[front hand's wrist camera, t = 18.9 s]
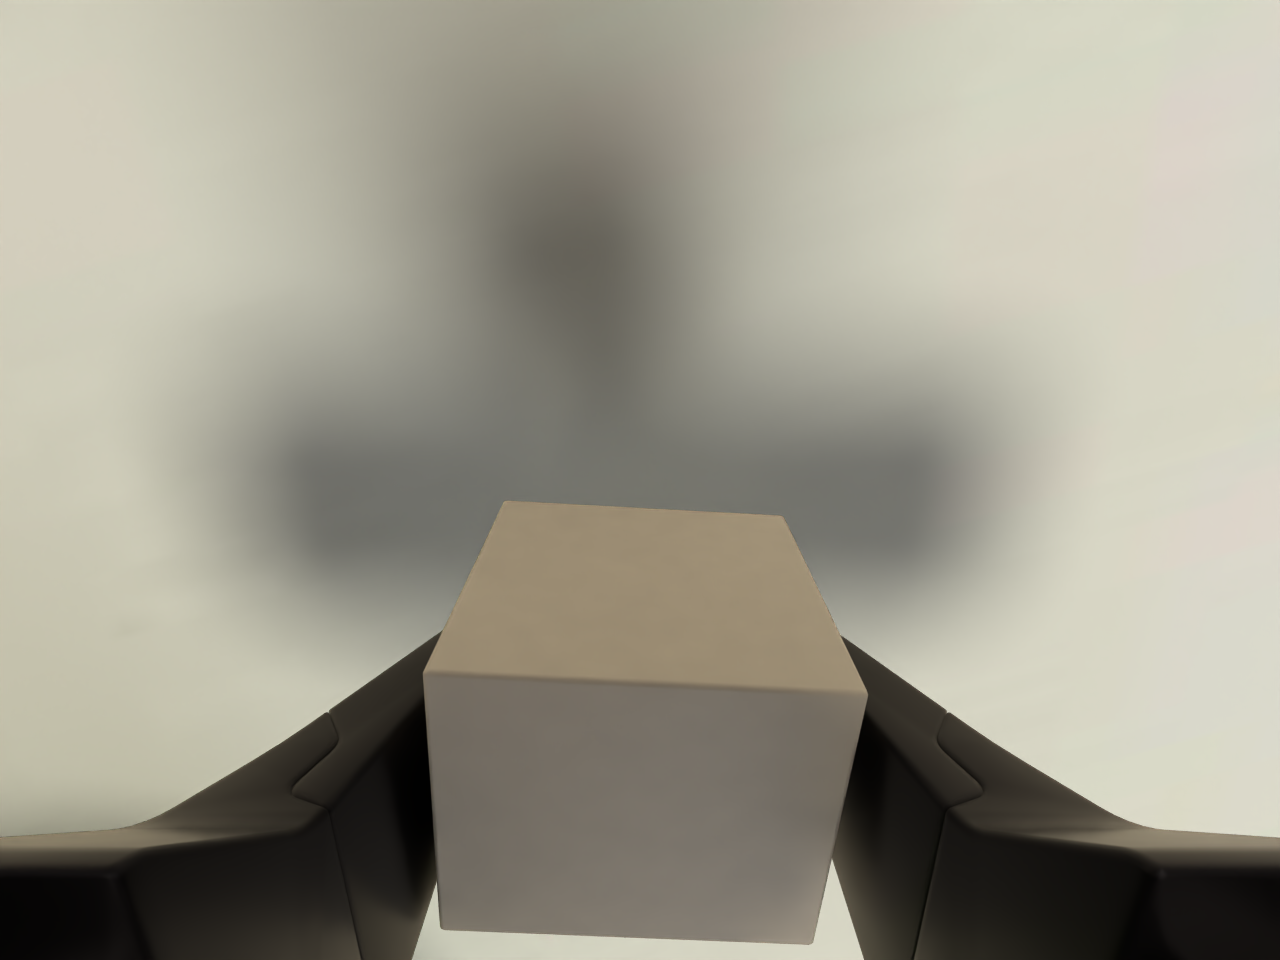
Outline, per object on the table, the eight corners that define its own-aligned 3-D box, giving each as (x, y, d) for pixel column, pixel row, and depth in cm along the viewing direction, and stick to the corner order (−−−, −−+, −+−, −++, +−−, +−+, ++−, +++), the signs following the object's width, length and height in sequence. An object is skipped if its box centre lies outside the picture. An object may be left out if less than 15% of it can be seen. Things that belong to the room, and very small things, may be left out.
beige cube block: (784, 514, 12) (871, 693, 8) (755, 703, 14) (814, 947, 9) (503, 498, 12) (420, 671, 7) (506, 690, 14) (437, 932, 9)
